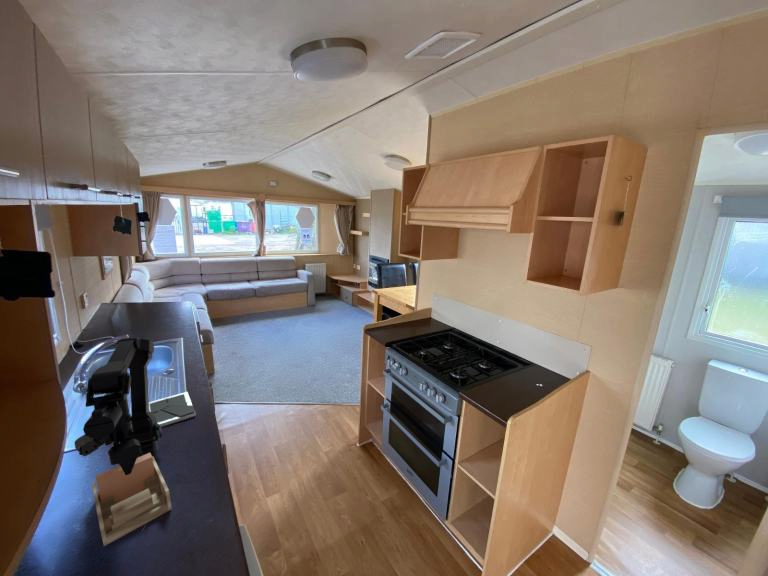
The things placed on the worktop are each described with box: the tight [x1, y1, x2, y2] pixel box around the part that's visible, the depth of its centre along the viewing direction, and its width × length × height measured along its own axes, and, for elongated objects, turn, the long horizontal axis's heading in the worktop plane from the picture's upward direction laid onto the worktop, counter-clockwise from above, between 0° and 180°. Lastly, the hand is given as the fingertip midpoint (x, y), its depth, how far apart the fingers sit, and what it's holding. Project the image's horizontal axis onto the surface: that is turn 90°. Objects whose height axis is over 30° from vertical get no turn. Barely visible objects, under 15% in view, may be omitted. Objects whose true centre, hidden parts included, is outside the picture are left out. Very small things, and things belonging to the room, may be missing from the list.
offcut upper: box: [110, 488, 153, 525], centre depth 82 cm, size 4×8×2 cm, turn 136°
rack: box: [91, 457, 173, 547], centre depth 86 cm, size 18×14×7 cm
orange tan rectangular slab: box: [95, 453, 155, 504], centre depth 89 cm, size 2×12×10 cm, turn 136°
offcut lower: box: [109, 493, 160, 531], centre depth 83 cm, size 4×10×2 cm, turn 136°
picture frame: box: [149, 391, 197, 428], centre depth 131 cm, size 16×3×21 cm
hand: (125, 465), depth 88 cm, fingers open, 9 cm apart
